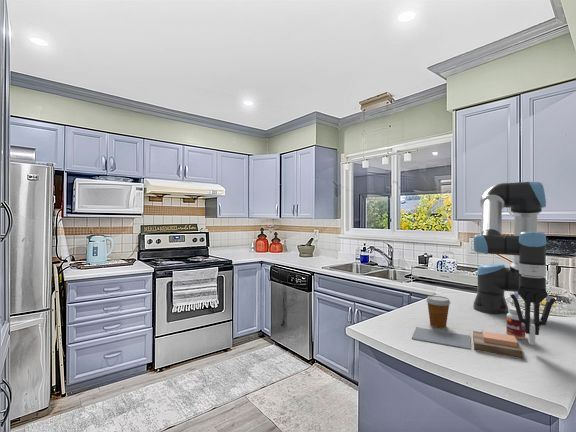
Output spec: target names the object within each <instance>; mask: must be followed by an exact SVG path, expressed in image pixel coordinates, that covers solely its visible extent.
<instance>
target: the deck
mask: <svg viewBox="0 0 576 432" xmlns="http://www.w3.org/2000/svg"><path fill="white" fill-rule="evenodd" d="M515 339H516V341H517V347H515V346H509V345H503V344H497V343H491V342H484V341H483V336H482V331H476V330H473V331H472V340H473V350H474V351H478V352H483V353H489V354H495V355H499V356H505V357H510V358H517V359H523V349H522V346H521V345H520V343H519V341H518V340H519V339H517V338H516V337H515Z"/></svg>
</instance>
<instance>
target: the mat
mask: <svg viewBox="0 0 576 432" xmlns="http://www.w3.org/2000/svg"><path fill="white" fill-rule="evenodd" d="M411 336H412V337H411V340H413V341H414V340H416V341H419V342H420V341H422V342H425V343H426V342H427V343H432V344H439V345H444V346H450V347H454V348H455V347H456V348H461V349H466V350H472V346H471V345H472V344H471V341H472V340H471V335H469V334H462V333H455V332H450V331H444V330H443V331H442V330H437V329H431V328H424V327H418V326H416V327H415V329H414V331H413V334H412V335H411Z"/></svg>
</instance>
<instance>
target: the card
mask: <svg viewBox="0 0 576 432" xmlns="http://www.w3.org/2000/svg"><path fill="white" fill-rule="evenodd" d="M481 332H482V336H483V341H484V342H491V343H497V344H503V345H509V346H515V347H517V341H516V339H515V336H512V335H507V334H504V333H498V332H491V331H484V330H482V331H481Z"/></svg>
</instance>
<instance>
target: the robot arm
mask: <svg viewBox="0 0 576 432" xmlns="http://www.w3.org/2000/svg"><path fill="white" fill-rule="evenodd" d="M479 201H480V202H479V205H480V208H481V217H480V218H481V220H480V232H479V234H475V235H474V236H473V251H474V252H475V253H477V254H485V255H489V254H490V255H507V256H513V261H512V262H510V264H509V267H506V266H505V264H503V263H485V264H481V265H479V266H478V267H477V274H476V275H477V285H476V286H477V290H476V291H477V292H476V293H477V294H476V296H475V298H474V301H473V305H472V306H473V309H475V310H476V311H479V312H482V313H487V314H493V315H507V314H508V313H509V306H508V304H507V303H508V302H507V300H506V298H505V292H511V293H509V296H510V298H511V299H512V300H513V304H514V308H516V312H517V315H518V319H519V321H520V322H522V323H524V324H525V335H526V334H527V335H528V338H527V339H528V343H529V345H531V346H536V336H539V335H540V326H546V325H547V322H548V319H549V316H550V313H551V309H552V306H553V305H554V304H555V303H556V301H557V300H556V298H555V297H553V296H550V295H548V292H547V280H546V279H547V278H546V277H547V263H546V262H547V261H546V259H547V244H548V242H547V235H546V233H544V232H541V231H537V230H538V215H539V214H540V213H542V210H543V209H544V208H546V207H547V199H546V194H545V187H544V185H543V183H541V182H539V181H520V182H501V183H497V184H494V185H493V186H491V187H489V188H488V189H487V190H485V191H484V193H483V194H482V196H481V197H480V200H479ZM503 208H507V209H508V208H509V209H510V213H512V214H513V215H514V216H513V217H514V225H513V226H514V228H513V229H514V231H513V234H514V235H507V234H506V235H503V233H502V232H503V231H502V228H503V227H502V226H503V225H502V224H503V223H502V221H503V220H502V219H503V217H502V216H503V213H502V212H503V211H502V210H503ZM519 296H520V298H521V299H522V300H523V301H524V316H525V319H523V316H522V313H521V309H522V308H521V306H520V302H519V300H518V299H519ZM544 300H545V305H544V308H543V310H542V314H541V316H540V308H541V307H540V306H541V305H540V304H541V303H542V302H543V301H544ZM531 305H533V323H531Z"/></svg>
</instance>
